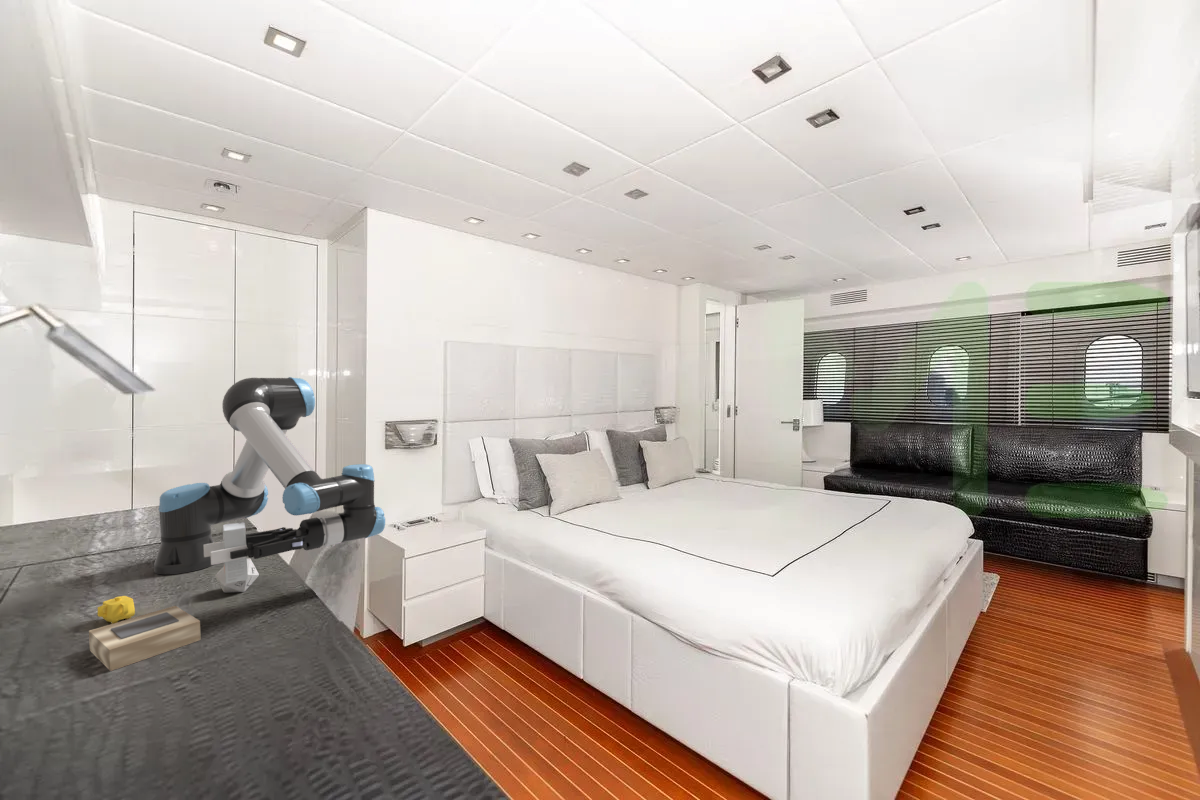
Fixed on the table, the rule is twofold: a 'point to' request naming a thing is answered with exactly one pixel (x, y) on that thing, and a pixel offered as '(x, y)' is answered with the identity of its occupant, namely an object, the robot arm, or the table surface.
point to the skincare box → (233, 538)
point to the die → (239, 585)
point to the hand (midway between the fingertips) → (207, 554)
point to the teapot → (117, 609)
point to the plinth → (143, 637)
